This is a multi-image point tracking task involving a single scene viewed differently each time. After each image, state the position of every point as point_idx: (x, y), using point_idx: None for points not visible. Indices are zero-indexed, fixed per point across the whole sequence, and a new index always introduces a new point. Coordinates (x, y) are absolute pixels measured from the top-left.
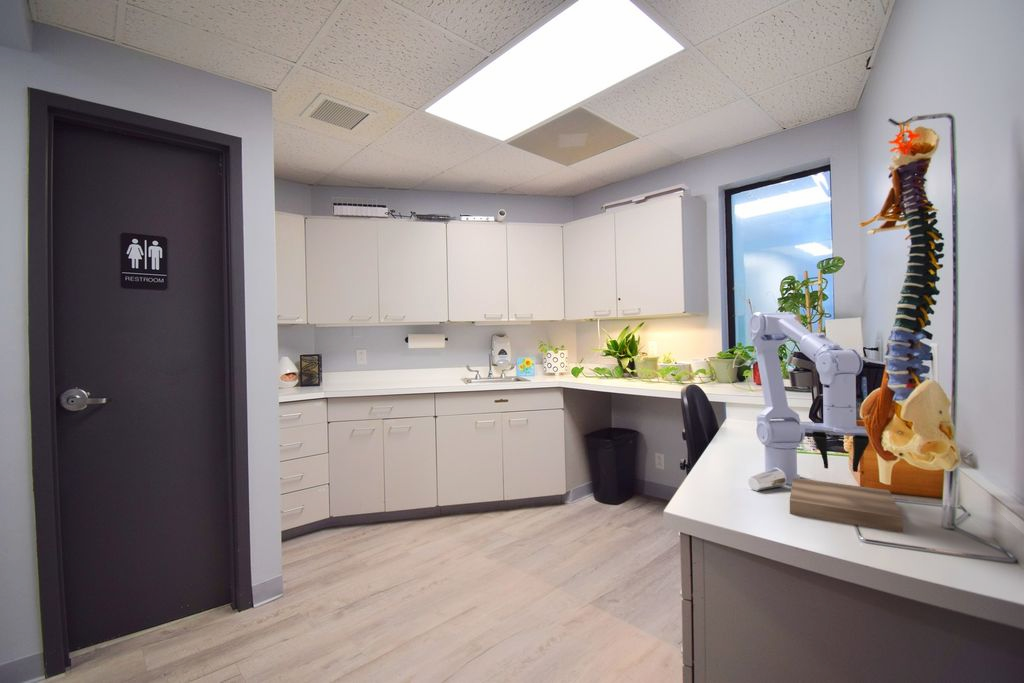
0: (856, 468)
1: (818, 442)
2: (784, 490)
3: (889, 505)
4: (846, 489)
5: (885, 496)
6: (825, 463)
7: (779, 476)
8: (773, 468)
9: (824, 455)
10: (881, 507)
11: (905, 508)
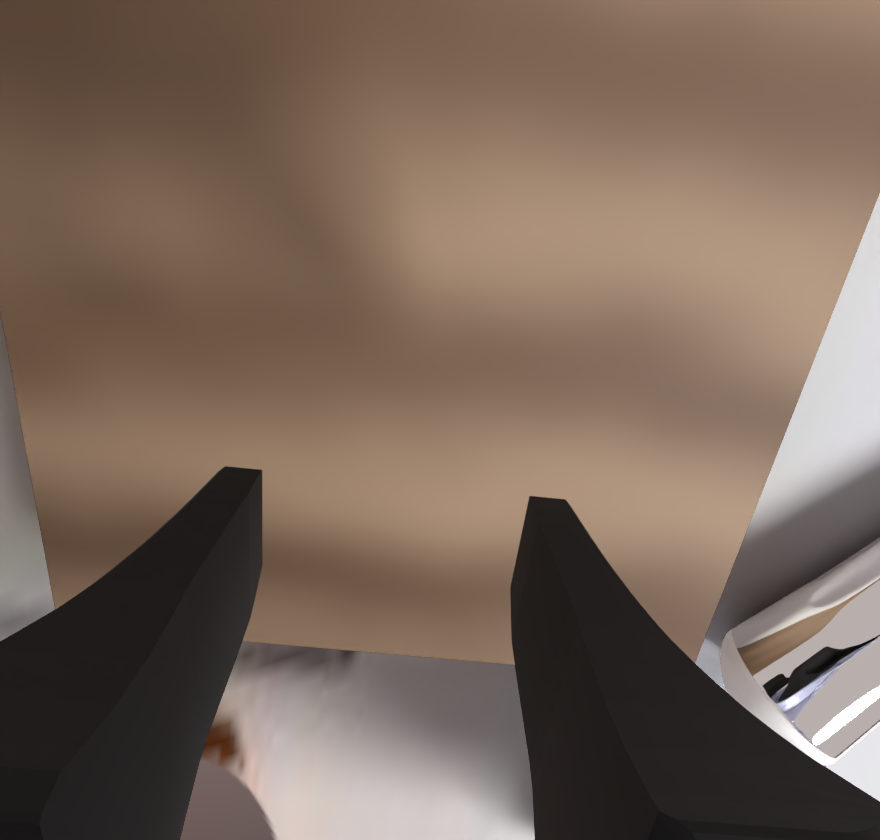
0: (216, 482)
1: (776, 764)
2: (729, 578)
3: (43, 233)
4: (343, 539)
5: (78, 475)
6: (571, 525)
7: (799, 659)
8: (837, 750)
9: (604, 598)
10: (103, 133)
11: (10, 508)
